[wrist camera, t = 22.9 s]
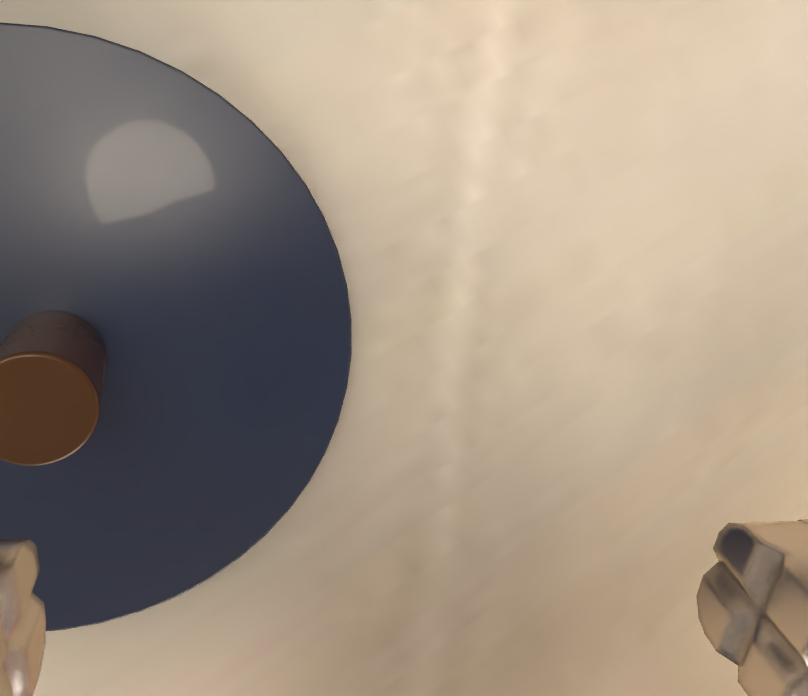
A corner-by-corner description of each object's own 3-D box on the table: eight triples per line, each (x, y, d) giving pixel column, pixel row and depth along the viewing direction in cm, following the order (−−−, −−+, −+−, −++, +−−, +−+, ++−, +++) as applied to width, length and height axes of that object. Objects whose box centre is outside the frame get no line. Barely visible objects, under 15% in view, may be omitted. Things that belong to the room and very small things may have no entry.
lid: (322, 34, 20) (389, -13, 15) (357, 543, 24) (419, 645, 19) (-427, 25, 15) (-729, -53, 9) (-218, 675, 19) (-350, 866, 14)
